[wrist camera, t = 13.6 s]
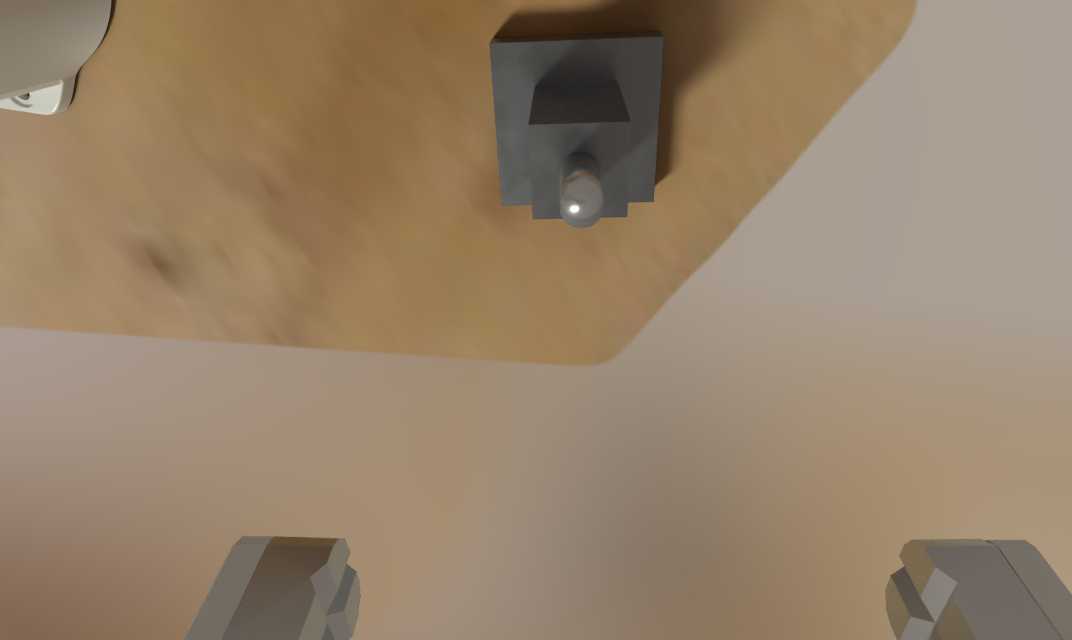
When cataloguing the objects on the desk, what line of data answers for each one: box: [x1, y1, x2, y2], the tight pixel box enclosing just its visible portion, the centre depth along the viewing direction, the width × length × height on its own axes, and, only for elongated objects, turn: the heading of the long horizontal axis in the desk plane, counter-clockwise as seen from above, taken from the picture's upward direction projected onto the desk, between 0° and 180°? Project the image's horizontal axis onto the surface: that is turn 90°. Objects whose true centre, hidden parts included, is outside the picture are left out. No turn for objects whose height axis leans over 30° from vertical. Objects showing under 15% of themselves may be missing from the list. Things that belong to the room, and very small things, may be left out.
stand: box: [489, 31, 664, 228], centre depth 34 cm, size 10×10×14 cm
